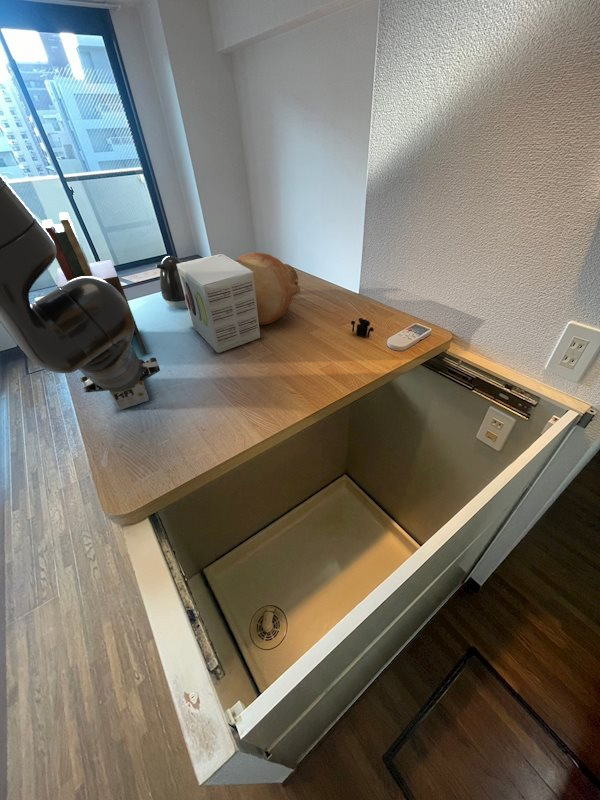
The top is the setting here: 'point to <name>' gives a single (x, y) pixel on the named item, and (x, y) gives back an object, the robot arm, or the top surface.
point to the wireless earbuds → (362, 327)
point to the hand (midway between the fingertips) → (129, 383)
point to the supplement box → (220, 300)
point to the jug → (271, 285)
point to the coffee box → (130, 396)
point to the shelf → (80, 260)
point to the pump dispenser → (171, 283)
